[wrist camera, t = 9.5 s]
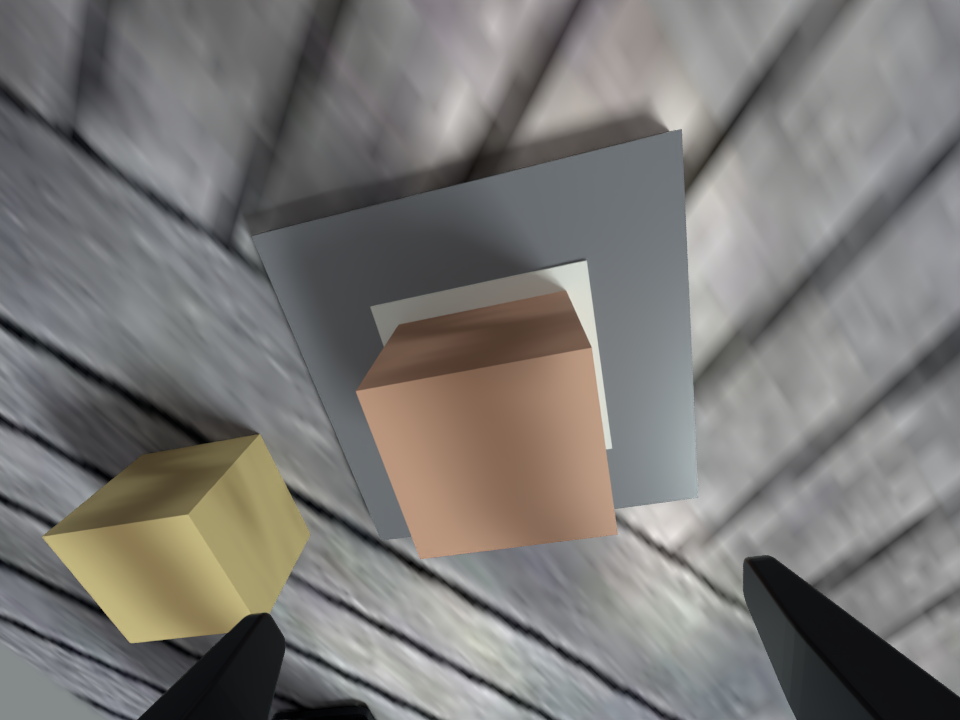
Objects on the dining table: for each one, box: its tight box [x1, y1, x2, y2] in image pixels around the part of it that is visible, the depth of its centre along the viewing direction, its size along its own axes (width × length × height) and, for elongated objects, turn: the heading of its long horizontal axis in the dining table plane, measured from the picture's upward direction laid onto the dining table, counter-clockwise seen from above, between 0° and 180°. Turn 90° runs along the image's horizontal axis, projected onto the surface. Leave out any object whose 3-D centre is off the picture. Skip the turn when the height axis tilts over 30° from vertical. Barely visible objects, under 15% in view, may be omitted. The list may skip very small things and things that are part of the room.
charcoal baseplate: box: [252, 129, 698, 541], centre depth 17 cm, size 14×14×1 cm
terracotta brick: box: [356, 291, 618, 559], centre depth 14 cm, size 6×6×5 cm
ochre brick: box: [42, 434, 310, 643], centre depth 19 cm, size 6×6×5 cm
